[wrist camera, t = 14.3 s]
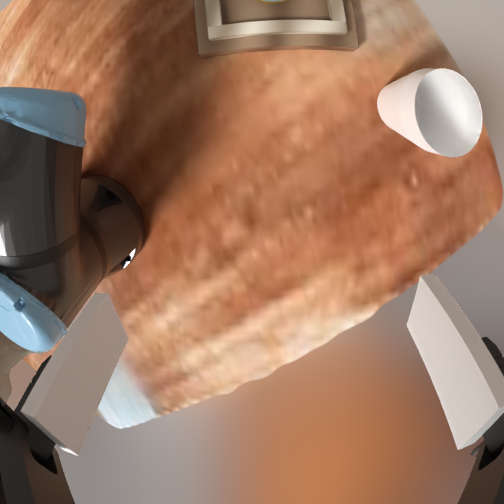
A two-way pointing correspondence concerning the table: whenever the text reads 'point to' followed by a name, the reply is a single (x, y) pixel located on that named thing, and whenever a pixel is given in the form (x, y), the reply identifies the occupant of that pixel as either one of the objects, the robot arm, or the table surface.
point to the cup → (433, 111)
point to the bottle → (272, 1)
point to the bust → (9, 362)
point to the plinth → (273, 26)
